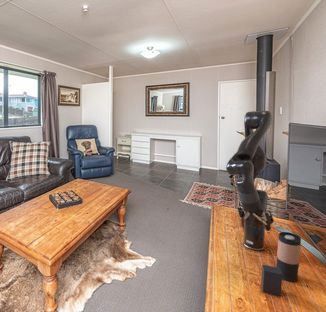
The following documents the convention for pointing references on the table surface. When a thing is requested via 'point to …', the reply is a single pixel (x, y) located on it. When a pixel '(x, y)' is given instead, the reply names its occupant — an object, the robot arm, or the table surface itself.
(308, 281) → the table surface
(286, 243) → the travel mug
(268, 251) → the table surface
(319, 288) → the table surface
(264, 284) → the slate block
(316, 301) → the table surface
